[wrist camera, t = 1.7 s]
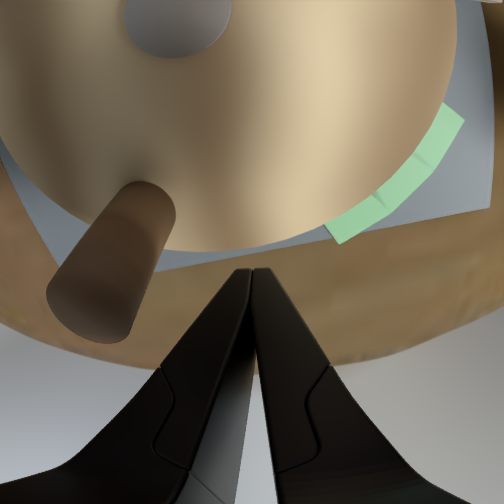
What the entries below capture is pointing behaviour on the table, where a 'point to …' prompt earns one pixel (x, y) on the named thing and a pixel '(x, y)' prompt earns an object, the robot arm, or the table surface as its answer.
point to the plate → (385, 197)
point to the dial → (209, 124)
